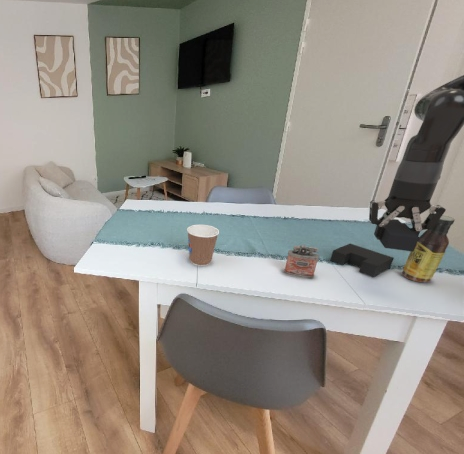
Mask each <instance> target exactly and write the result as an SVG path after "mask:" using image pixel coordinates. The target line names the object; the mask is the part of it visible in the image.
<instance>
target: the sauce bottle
mask: <svg viewBox="0 0 464 454" xmlns="http://www.w3.org/2000/svg"><path fill="white" fill-rule="evenodd" d="M455 220H456V219H455V218H454V217H452V216H449V215H444V214H443V215H442V216H441V218H440V219H439V221H438V222H437V223H436V225H435V226H434V227H433V229H431V230H428V229H426V230H424V232H423V233H422V234H420V236H418V237H419V239H418V242H417V244H416V247H415V249H414V252H412V251H409V255H408V257H407V259H406V261H405V263H404V266H403V268H402V276H404V277H405V278H406V279H408V280H410V281H413V282H417V283H429V282H431V280H432V279H433V277H434V275H435V273H436V272H437V269H438V267H439V266H440V264H441V261H442V260H443V257H444V255H445V254H446V250H447V248H448V246H449V244H450V241H449V238H448V233H449V231H450V228H451V226H452V225H454V222H455Z"/></svg>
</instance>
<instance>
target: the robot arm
mask: <svg viewBox="0 0 464 454" xmlns="http://www.w3.org/2000/svg"><path fill="white" fill-rule="evenodd" d="M414 115H415V117H416V119H418V120H420V121H422V123H421V125H420V127H419V130H418V131H417V134H414V135H413V136H412V137H410V138H409V140H408V142H407V145H406V147H405V149H404V153H403V156H402V159H401V161H400V163H399V165H398V167H397V170H396V173H395V175H394V178H393V180H392V185H391V187H390V189H389V193H388V196H387V198H385V199H384V200H375V199H373V200H372V199H371V200H370V202H369V215H368V221H370V223H371V224H372V225H375V226H376V227H375V230H374V232H373V235H374V237H375V238H376V240H378V241H380V240H381V239H382V236H383V233H384V230H385V226H386V225H387V224H388V223H389V222H390V221H392V220H393V219H397V218H399V219H400V218H404V219H409V220H410V224H411V227H409V228H410V229H411V230H412V231H413V232H414V233H415V234H416V235H417V236H418V237H420V236H419V235H420V233H421V231H426V230H427V229H428V230H431V229H433V227H434V226H435V225H436V223H437V222H438V221H439V219H440V218H441V216H442V215H444V213H446V210H447V209H446V208H445V207H443V206H442V205H440V204H437V205H435V204H432V203H431V200H432V198H433V195H434V193H435V190H436V188H437V185H438V183H439V181H440V179H441V177H442V176H441V175H442V172H443V169H444V163H445V161H446V159H447V155H448V154H449V151H450V148H451V145H452V142H453V141H454V139H455V138H456V137H457V136H458V134H459V133H460V132H461V130H462V129H463V128H464V74H463V75H461V76H459V77H457V78H455V79H452V80H450V81H448V82H446V83H444V84H442V85H440V86H438V87H436V88H435V89H433V90H430V91H429V92H428V93H426V94H425V95H424V96H422V97H421V98H420V99H419V100H418V101H417V103H416V104H415V106H414ZM384 206H385V208H386V209H387V210H386V211H385V212H384V213H382V215H381V217H379V210H381V209H382V208H383V207H384ZM427 211H428V213H429V214H428V215H427V217H426V218H425V219H424V221H423V222H422V218H421V214H423V213H425V212H427ZM378 217H379V218H380V219H379V218H378Z"/></svg>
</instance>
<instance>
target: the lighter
mask: <svg viewBox="0 0 464 454" xmlns="http://www.w3.org/2000/svg"><path fill="white" fill-rule="evenodd" d="M318 253H319V248H318V247H313V246H306V245H305V244H301V245H293V250H292V249H291V250H288V251H287V257H286V258H287V259H286V262H285V267H284V269H283V274H284V275H287V276H290V277H294V278H301V279H309V280H312V279H314V277H315V271H316V268H317V264H318V260H319V259H320V254H318Z"/></svg>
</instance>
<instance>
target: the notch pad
mask: <svg viewBox="0 0 464 454" xmlns="http://www.w3.org/2000/svg"><path fill="white" fill-rule="evenodd" d="M394 258H395V257H393V256H390V255H387V254H384V253H380V252H377V251H374V250H372V249H368V248H365V247H363V246H359V245H357V244H353V243H348V244H344V245H343V246H341V247H338V248H336V249H333V250H332V253H331V256H330V260H329V261H330V262H332V263H335V264H337V265H339V266H344V265H347V264H349V265H350V266H351V265H352V266H354V267H357V268H359V270H358V273H361V274H363V275H365V276H368V277H371V278H375V277H376V276H379V275H381V274H382V273H385V272H387V271H388V270H390V269H391V266H392V264H393V262H394Z"/></svg>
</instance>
